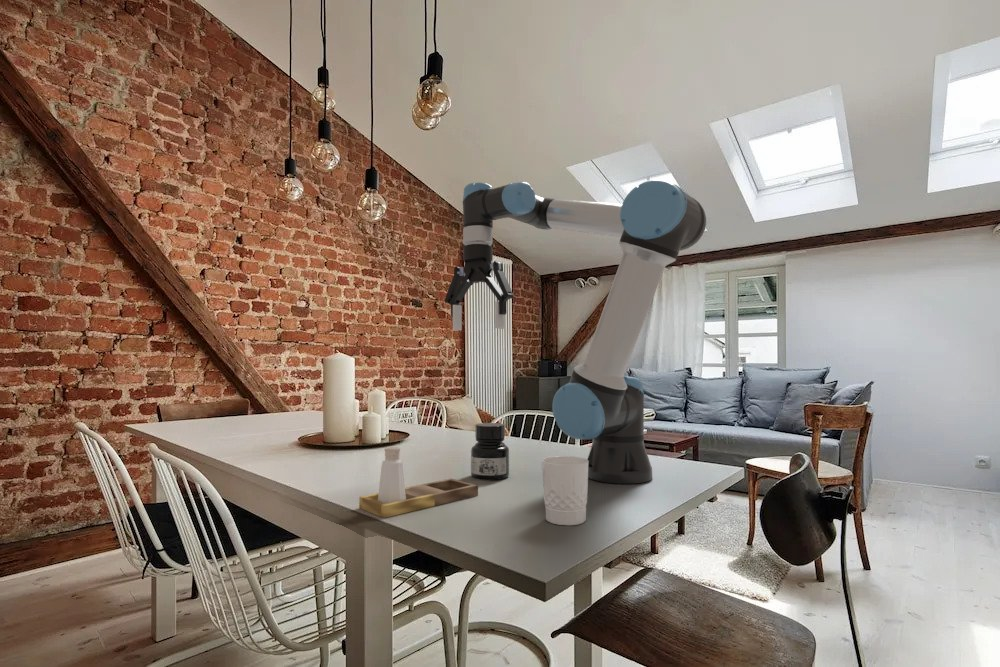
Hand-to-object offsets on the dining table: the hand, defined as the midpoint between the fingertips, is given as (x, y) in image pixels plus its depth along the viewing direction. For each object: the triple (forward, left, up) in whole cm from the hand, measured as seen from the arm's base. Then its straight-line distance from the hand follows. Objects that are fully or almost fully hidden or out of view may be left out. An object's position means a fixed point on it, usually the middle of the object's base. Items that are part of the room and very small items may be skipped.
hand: (477, 329), depth 133 cm
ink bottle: (-8, +5, -35) cm, 36 cm away
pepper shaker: (-9, +36, -35) cm, 51 cm away
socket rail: (-10, +30, -35) cm, 47 cm away
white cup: (-38, +24, -35) cm, 57 cm away
